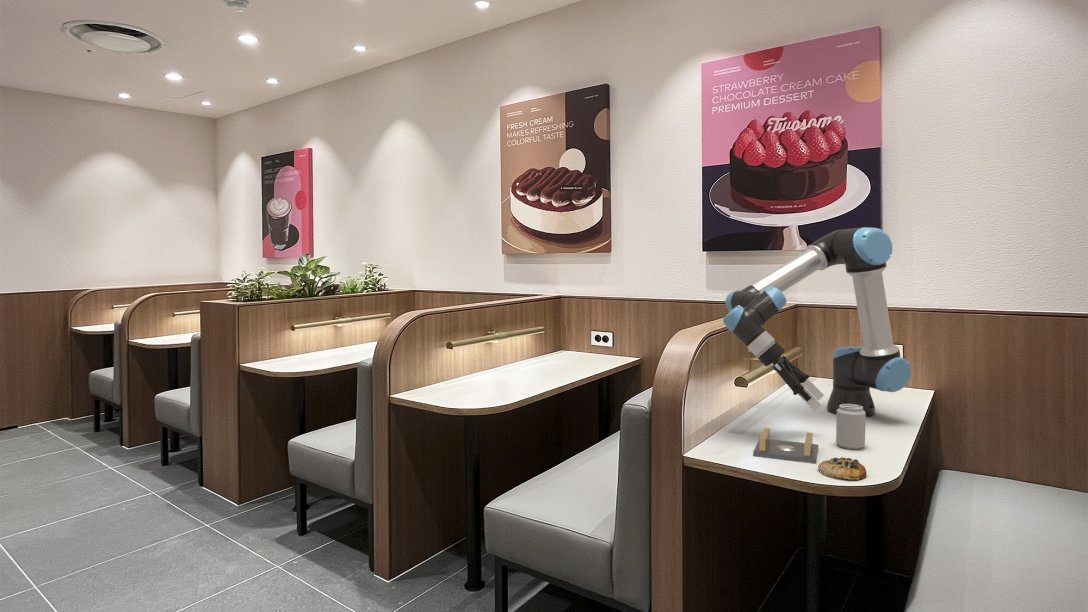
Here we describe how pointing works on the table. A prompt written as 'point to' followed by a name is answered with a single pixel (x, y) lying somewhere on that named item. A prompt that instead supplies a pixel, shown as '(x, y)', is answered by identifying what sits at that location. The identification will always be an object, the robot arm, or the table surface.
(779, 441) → the holder plate
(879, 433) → the table surface
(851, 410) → the can
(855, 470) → the bread roll
